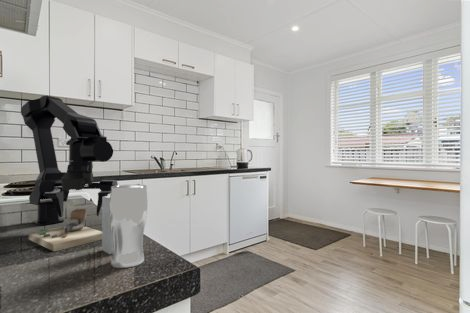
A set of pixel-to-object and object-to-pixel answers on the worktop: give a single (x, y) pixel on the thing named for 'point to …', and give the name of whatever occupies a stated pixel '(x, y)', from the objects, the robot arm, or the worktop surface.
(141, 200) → the beer glass
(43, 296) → the worktop surface
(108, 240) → the skincare box
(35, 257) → the worktop surface
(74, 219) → the gauge needle
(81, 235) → the dial board
